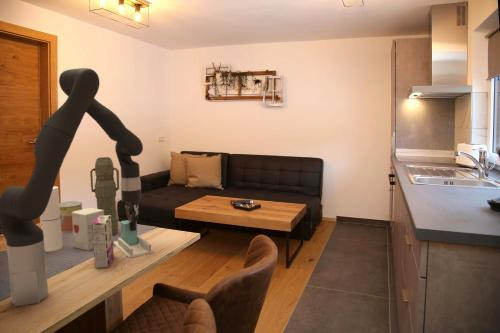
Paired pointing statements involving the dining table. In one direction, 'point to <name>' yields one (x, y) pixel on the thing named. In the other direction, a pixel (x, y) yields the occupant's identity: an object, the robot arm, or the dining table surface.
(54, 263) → the dining table surface
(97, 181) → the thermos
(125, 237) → the block
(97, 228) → the candy bar box
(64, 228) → the canned food
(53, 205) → the cylindrical container
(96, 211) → the supplement box
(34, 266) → the robot arm
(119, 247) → the chute
